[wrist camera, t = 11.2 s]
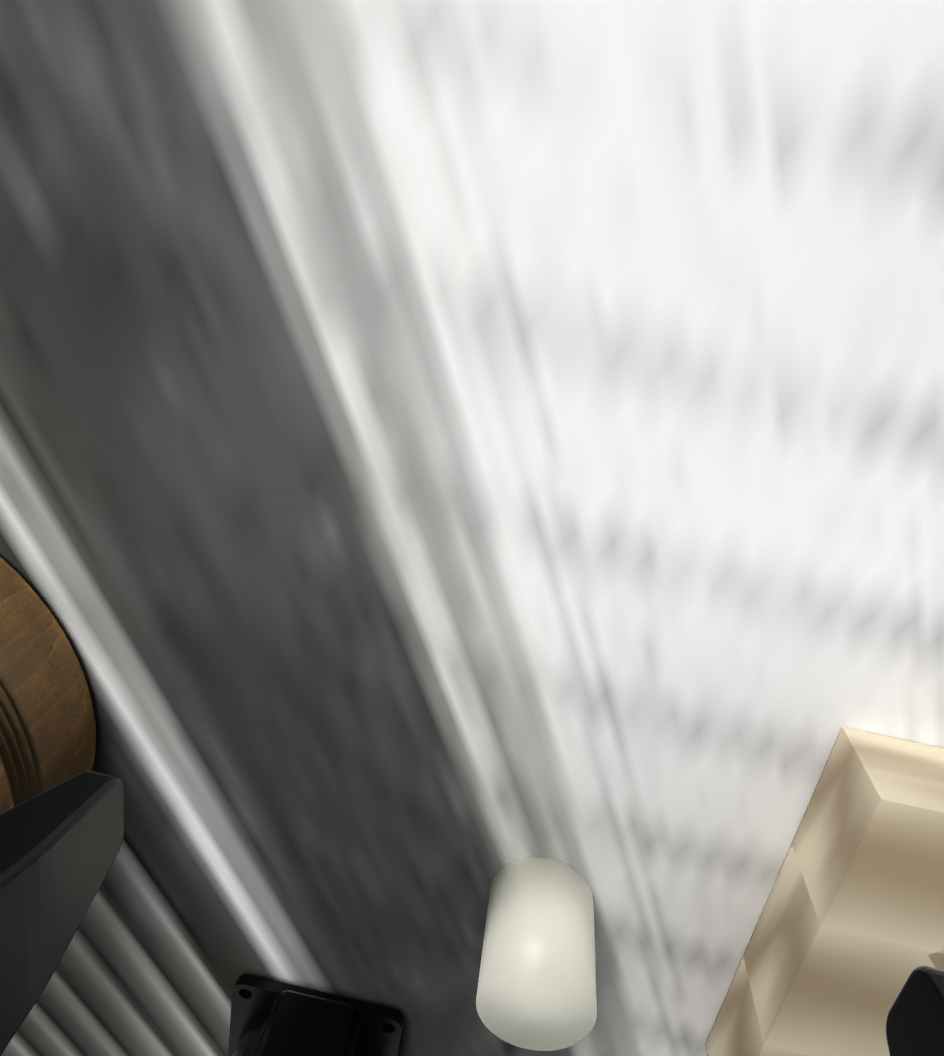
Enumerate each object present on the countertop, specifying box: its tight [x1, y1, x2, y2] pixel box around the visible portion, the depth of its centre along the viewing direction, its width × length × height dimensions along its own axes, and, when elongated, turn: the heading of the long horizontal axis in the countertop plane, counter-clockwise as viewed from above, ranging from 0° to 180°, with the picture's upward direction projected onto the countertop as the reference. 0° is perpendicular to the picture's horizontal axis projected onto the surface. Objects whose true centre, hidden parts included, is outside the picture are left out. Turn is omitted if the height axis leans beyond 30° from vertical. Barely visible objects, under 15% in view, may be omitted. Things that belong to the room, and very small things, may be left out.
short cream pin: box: [476, 857, 597, 1051], centre depth 24 cm, size 4×4×4 cm
